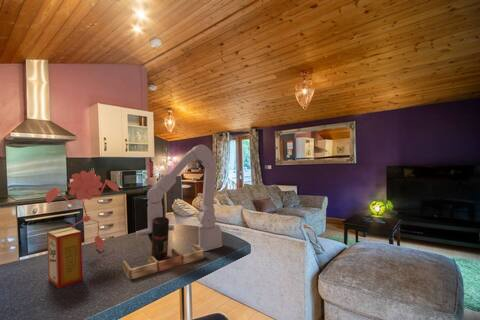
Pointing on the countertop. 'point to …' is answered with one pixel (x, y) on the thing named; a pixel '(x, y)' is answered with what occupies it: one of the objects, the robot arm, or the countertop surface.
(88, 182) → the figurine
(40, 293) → the countertop surface
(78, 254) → the baking soda box
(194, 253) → the bay rack
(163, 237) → the deodorant
